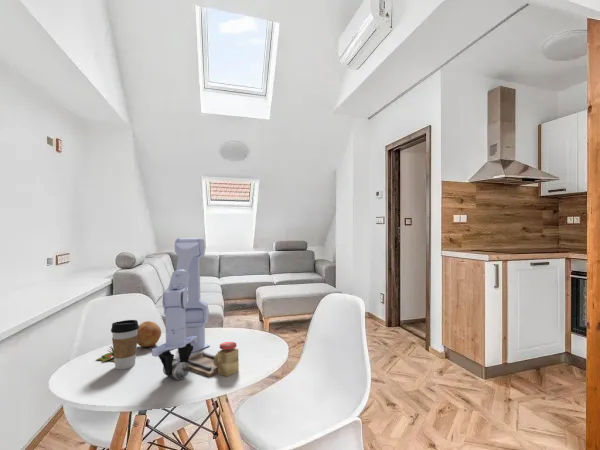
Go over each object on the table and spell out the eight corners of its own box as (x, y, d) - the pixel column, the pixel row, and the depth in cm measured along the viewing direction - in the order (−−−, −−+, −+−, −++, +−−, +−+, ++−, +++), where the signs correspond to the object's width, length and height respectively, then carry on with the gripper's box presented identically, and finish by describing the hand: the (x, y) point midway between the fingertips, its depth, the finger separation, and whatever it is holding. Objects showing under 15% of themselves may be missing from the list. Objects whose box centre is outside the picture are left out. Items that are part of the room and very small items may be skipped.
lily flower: (86, 363, 112) (86, 350, 112) (113, 351, 124) (113, 339, 124) (115, 366, 110) (115, 352, 110) (140, 353, 121) (140, 341, 121)
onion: (167, 343, 130) (166, 319, 130) (146, 352, 121) (146, 325, 121) (149, 341, 134) (149, 317, 134) (128, 349, 125) (128, 323, 125)
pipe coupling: (163, 377, 98) (162, 361, 98) (177, 371, 102) (177, 356, 102) (174, 382, 95) (174, 365, 95) (189, 376, 99) (188, 360, 99)
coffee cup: (105, 369, 106) (104, 323, 106) (126, 359, 114) (126, 317, 114) (123, 372, 103) (123, 325, 103) (144, 362, 111) (144, 319, 111)
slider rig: (176, 365, 107) (176, 339, 108) (203, 354, 117) (202, 330, 117) (220, 381, 95) (220, 351, 95) (246, 367, 104) (246, 341, 104)
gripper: (161, 336, 91) (161, 384, 90) (202, 324, 103) (203, 366, 102) (147, 332, 95) (148, 379, 94) (189, 321, 107) (189, 362, 106)
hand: (176, 372), depth 98 cm, fingers closed on pipe coupling, 4 cm apart
